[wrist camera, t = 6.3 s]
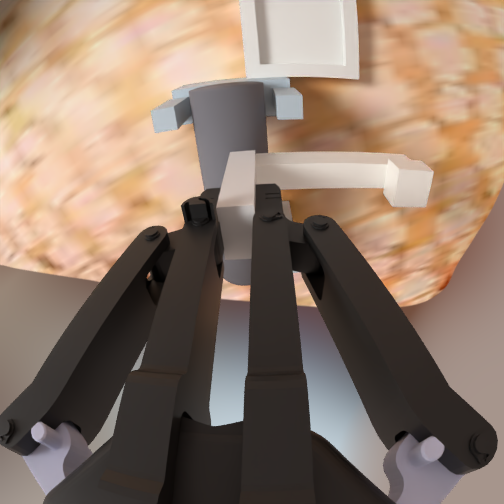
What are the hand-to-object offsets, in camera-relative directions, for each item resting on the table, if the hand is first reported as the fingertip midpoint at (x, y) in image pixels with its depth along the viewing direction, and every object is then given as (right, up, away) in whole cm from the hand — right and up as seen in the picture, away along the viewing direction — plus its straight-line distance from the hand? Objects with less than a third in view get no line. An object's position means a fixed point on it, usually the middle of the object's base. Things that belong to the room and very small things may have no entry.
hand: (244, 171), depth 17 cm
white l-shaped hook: (+6, +1, 0) cm, 6 cm away
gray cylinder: (-1, +2, +7) cm, 7 cm away
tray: (+4, +19, -2) cm, 19 cm away
